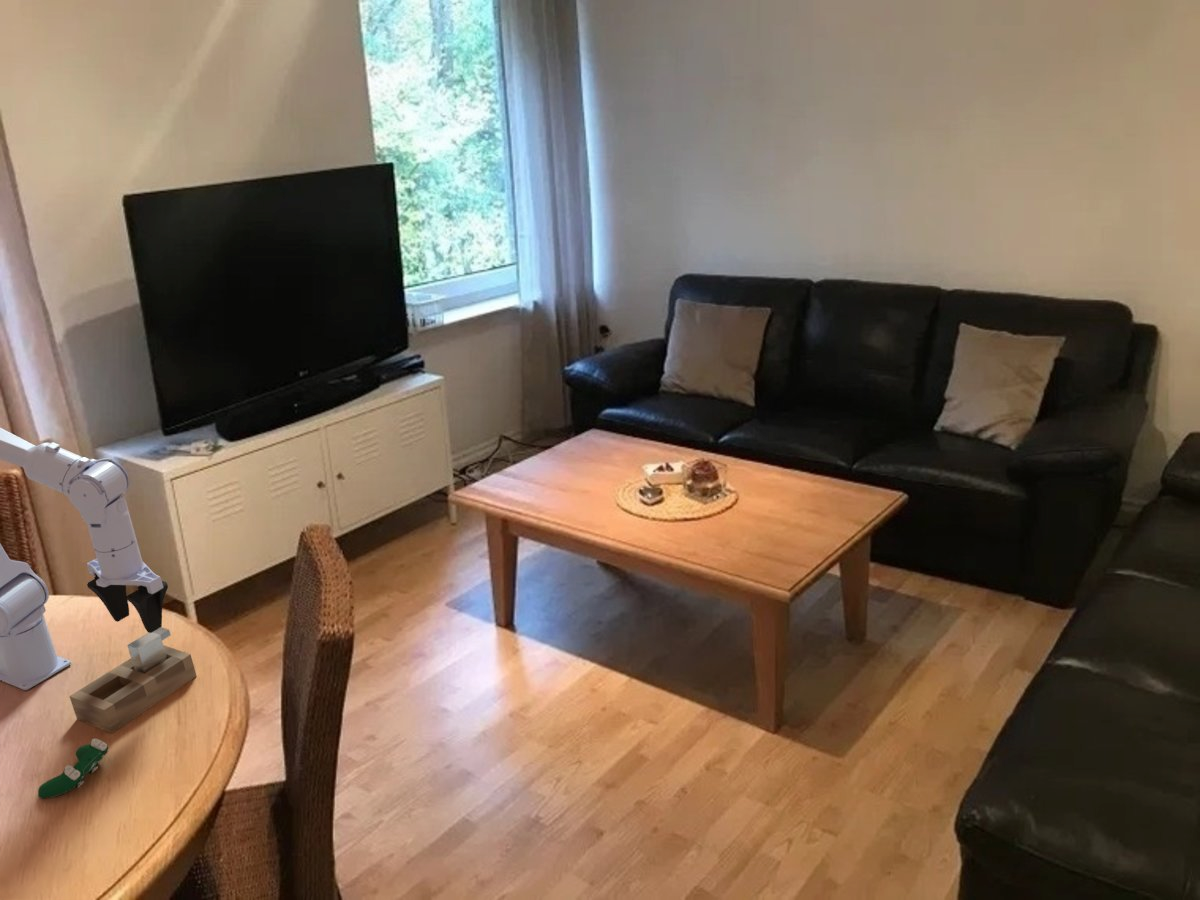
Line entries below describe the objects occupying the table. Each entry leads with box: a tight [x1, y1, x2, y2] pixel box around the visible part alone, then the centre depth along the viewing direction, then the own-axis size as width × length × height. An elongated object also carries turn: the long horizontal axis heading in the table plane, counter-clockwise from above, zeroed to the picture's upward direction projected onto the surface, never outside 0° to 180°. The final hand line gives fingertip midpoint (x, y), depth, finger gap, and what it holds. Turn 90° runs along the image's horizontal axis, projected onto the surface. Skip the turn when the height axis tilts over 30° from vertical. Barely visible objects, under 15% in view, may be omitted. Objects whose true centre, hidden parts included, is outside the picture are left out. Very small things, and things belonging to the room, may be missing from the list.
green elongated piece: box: [37, 738, 109, 799], centre depth 140 cm, size 9×4×6 cm
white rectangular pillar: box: [126, 626, 171, 674], centre depth 159 cm, size 2×6×7 cm, turn 149°
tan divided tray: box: [69, 644, 197, 734], centre depth 157 cm, size 8×15×4 cm, turn 149°
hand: (138, 623), depth 158 cm, fingers open, 7 cm apart
